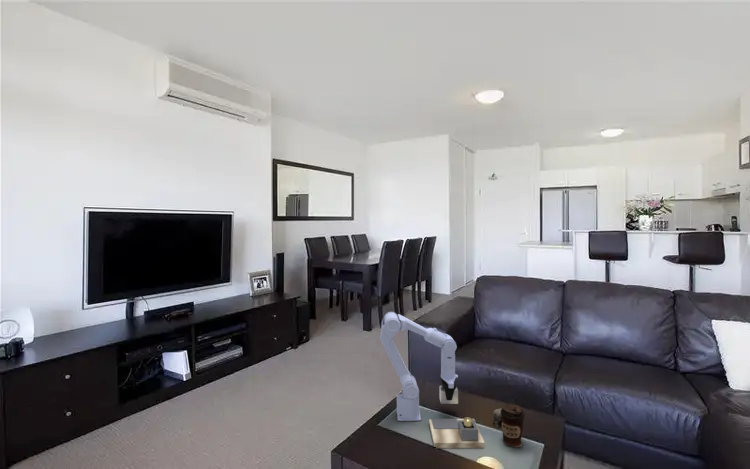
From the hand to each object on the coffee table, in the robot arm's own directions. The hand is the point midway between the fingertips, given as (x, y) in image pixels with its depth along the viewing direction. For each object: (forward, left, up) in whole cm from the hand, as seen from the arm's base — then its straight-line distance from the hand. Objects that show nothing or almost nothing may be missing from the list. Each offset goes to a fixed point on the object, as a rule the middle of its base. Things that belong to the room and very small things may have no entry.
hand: (448, 396), depth 153 cm
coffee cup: (+20, -19, -8) cm, 29 cm away
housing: (0, 0, -2) cm, 2 cm away
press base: (0, -14, -8) cm, 16 cm away
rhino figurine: (+22, -5, -8) cm, 24 cm away
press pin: (+4, -18, -3) cm, 19 cm away
